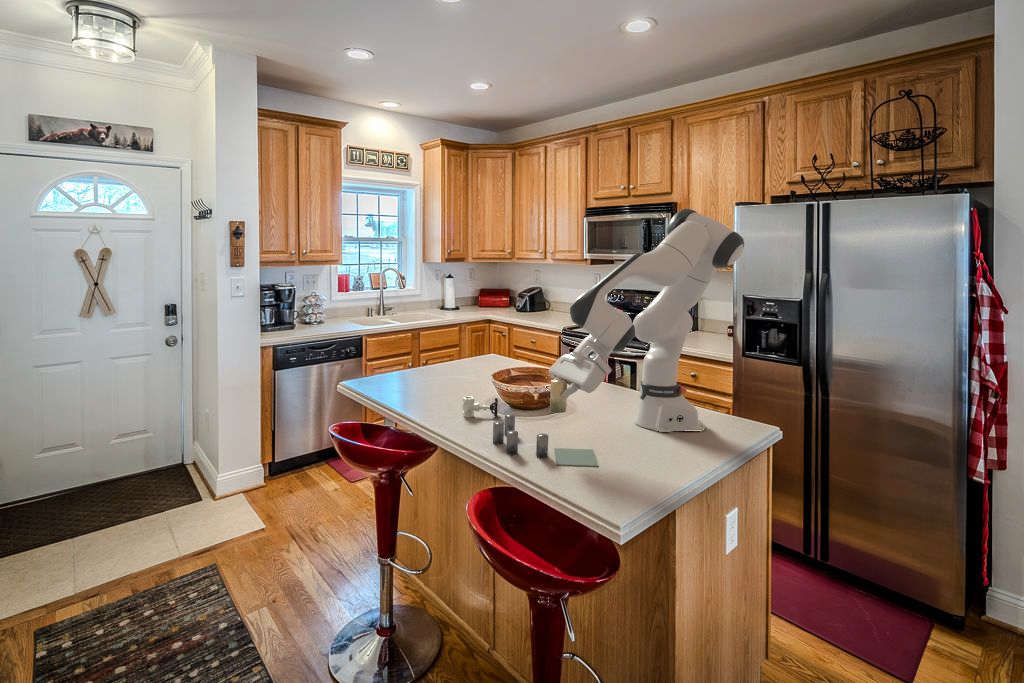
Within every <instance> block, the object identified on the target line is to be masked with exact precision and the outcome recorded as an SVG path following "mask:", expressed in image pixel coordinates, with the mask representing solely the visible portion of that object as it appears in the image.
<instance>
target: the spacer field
mask: <svg viewBox="0 0 1024 683" xmlns="http://www.w3.org/2000/svg"><path fill="white" fill-rule="evenodd" d="M505 436H506V443H505V444H506V447H505V448H506V451H505V453H506V454H507V455H509V454H510V456H514V455H515V454H516V455H518V454H517V453H518V450H519V432H518V431H517V430H516V414H513V413H506V414H504V422H503V421H501V420H499V421H498V420H497V421H494V422H493V423H492V444H493V445H497V444H500V445H503V444H504V439H505V438H504V437H505ZM535 447H536V449H535V450H536V451H535V452H536V453H535V457H536V456H537V457H536V458H538V457H539V458H538V459H547V458H548V454H549V434H547V433H544V432H543V433H537V434H536V446H535ZM516 455H515V456H516ZM546 457H547V458H546Z"/></svg>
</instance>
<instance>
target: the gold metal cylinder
mask: <svg viewBox="0 0 1024 683" xmlns="http://www.w3.org/2000/svg"><path fill="white" fill-rule="evenodd" d="M550 388H551V392H550V400H549V404H550V405H549V411H550V412H551V413H557V414H564V413H566V412H567V399H568V398H567V399H564V398H562V397H561V396H560V393H561V392H562V391H563V390H566V389H567V388H568V384H567V380H563V379H554V378H553V379H551V380H550Z"/></svg>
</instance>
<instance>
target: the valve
mask: <svg viewBox="0 0 1024 683" xmlns="http://www.w3.org/2000/svg"><path fill="white" fill-rule="evenodd" d="M498 402H499V399H498V398H497V397H494V402H492V403H491V404H489V405H488V404H483V405H482V404H480V402H476V403H475V397H473V396H464V397H462V410H463V411H462V416H463V417H464V416H465V417H464V418H468V417H471V416H473V417H474V416H475V412H480V411H482V410H483V411H487V410H489V411H490V412H491V414H493V415H494V416H497V417H498V412H499V410H498V406H499V405H498V404H499V403H498ZM471 418H472V417H471Z"/></svg>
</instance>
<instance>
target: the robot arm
mask: <svg viewBox="0 0 1024 683" xmlns="http://www.w3.org/2000/svg"><path fill="white" fill-rule="evenodd" d="M666 233H667V235H666V236H665V238H663V240H661V242H660V243H659V244H658V245H657V246H656V247H655V248H654V249H653V250H650V251H648V252H646V253H641V252H636V253H635V254H633V255H631V256H629V257H628V258H627V259H626V260H624V261H623V262H621V264H619V265H618V266H616V268H614V270H612V271H610V273H608V274H607V275H606V276H605V277H603V278H602V279H601V280H599V282H597V283H596V284H595V285H594V286H592V287H591V288H590V289H588V290H587V291H585V292H583V293H582V294H581V295H579V296H577V298H575V299H574V301H573V302H572V304H571V306H570V307H569V313H570V319H571V321H572V323H573V324H575V325H577V326H578V327H579V328H581V329H583V330H584V331H586V332H587V333H588V336H586V337H585V338H583V339H582V340H581V342H580V343H579V344H578V345H577V346H576V347H575V348H574V350H573V351H572V352H569V353H567V354H563V355H562V356H560V357H559V358H557V360H556V361H555V362H554V363H553V364H552V365H551V366H550V367H549V369H548V374H549V375H550V376H551V377H552V378H553V379H563V380H567V386H568V387H567V389H566V390H563V391H562V392H561V393H560V396H561V397H562V398H564V399H568V398H569V397H570V396H571V395H573V394H574V393H576V392H577V391H578V390H581V391H583V392H585V393H587V394H590V393H593V392H595V391H596V390H597V389H598V387H599V386H600V385H601V384H602V382H603V381H604V380H605V378H606V376H608V375H610V374H611V372H612V371H613V370H612V368H611V367H610V365H609V364H608V363H607V361H608V360H609V357H610V355H611V353H622V352H624V350H625V348H626V347H627V345H628V344H629V343H630V342H631V341H632V340H633V339H635V338H636V339H637V340H639V341H640V342H643V343H648V344H650V347H649V349H648V351H647V353H646V354H645V356H644V358H643V364H642V377H641V378H642V380H641V381H640V386H639V398H640V399H639V404H638V410H637V413H636V416H635V418H634V424H636V425H637V426H639V427H641V428H644V429H648V430H652V431H656V432H658V431H659V433H662V432H669V433H672V432H671V431H685V430H703V429H705V430H706V425H705V424H704V422H703V421H701V419H699V413H698V410H697V408H696V407H695V405H693V404H692V403H691V402H690V401H689V400H687V399H686V397H684V396H683V395H685V394H687V388H686V387H684V386H682V385H680V384H679V383H677V382H678V380H677V379H678V370H679V362H680V357H681V353H682V350H683V348H684V345H685V341H686V338H687V336H688V335H689V333H690V332H691V331H692V328H693V324H694V320H693V317H692V315H691V314H690V313H689V311H690V310H691V309H692V308H693V307H695V305H696V304H697V303H698V302H699V301H700V299H701V298H702V297H703V296H702V295H703V294H704V292H705V291H706V289H707V288H708V286H709V284H710V282H711V281H712V279H713V277H714V275H715V273H716V272H717V269H725V268H729V267H731V266H732V265H733V264H734V263H736V262H737V261H738V260H739V259H740V257H741V255H742V253H743V250H744V247H745V240H744V238H743V237H742V236H741V235H740V234H739V233H738V232H736V231H733V230H732V229H730V228H729V227H728V226H726V225H725V224H723V223H721V222H719V221H718V220H716V219H713V218H710V217H709V216H706V215H704V214H701V213H699V212H697V211H696V210H694V209H690V208H684V209H679V210H678V211H677V212H676V213H675V214H674V215H673V216H672V217H671V219H670V221H668V225H667V228H666ZM628 279H630V280H631V279H633V280H634V279H635V280H639V281H643V282H646V283H649V284H652V285H655V286H659V287H663V288H662V290H661V291H660V292H659V293H658V294H657V295H656V296H655V298H654V299H653V300H652V301H651V302H650V303H649V304H648V305H647V307H646V308H644V310H642V311H641V312H640V313H638V314H637V315H635V317H634V319H633V320H632V318H631V317H630V316H629V315H628V313H626V312H625V311H623V310H621V309H618V308H615V307H614V306H613V305H612V304H610V303H609V302H608V301H607V300H606V299H605V298H606V296H607V295H608V294H609V293H610V292H612V291H613V290H614V289H615V288H616V287H618V286H619V285H620V284H621V283H623V282H624V281H627V280H628ZM549 393H551V387H550V388H549Z"/></svg>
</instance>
